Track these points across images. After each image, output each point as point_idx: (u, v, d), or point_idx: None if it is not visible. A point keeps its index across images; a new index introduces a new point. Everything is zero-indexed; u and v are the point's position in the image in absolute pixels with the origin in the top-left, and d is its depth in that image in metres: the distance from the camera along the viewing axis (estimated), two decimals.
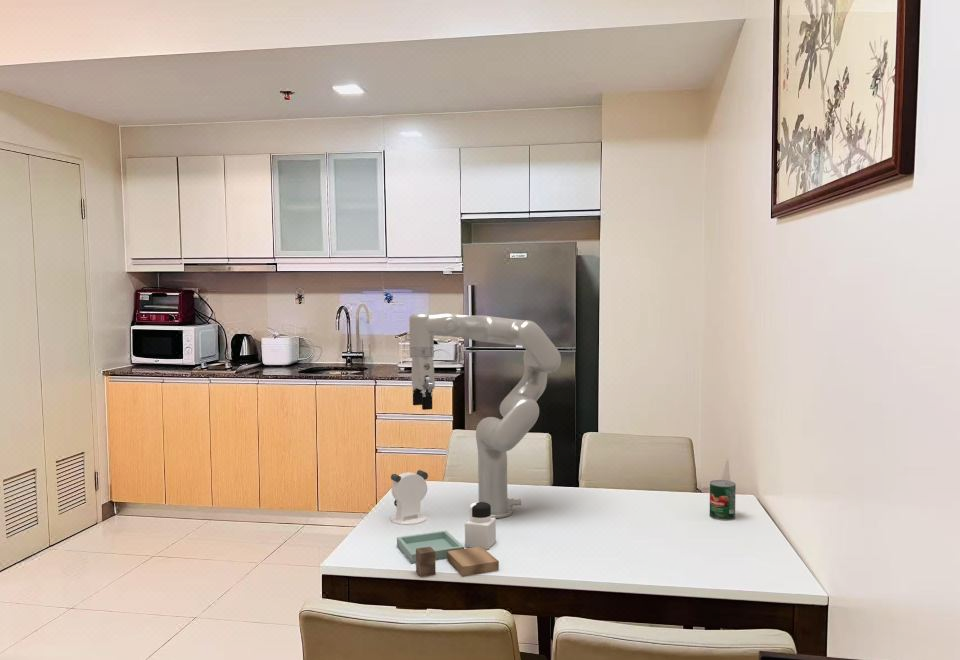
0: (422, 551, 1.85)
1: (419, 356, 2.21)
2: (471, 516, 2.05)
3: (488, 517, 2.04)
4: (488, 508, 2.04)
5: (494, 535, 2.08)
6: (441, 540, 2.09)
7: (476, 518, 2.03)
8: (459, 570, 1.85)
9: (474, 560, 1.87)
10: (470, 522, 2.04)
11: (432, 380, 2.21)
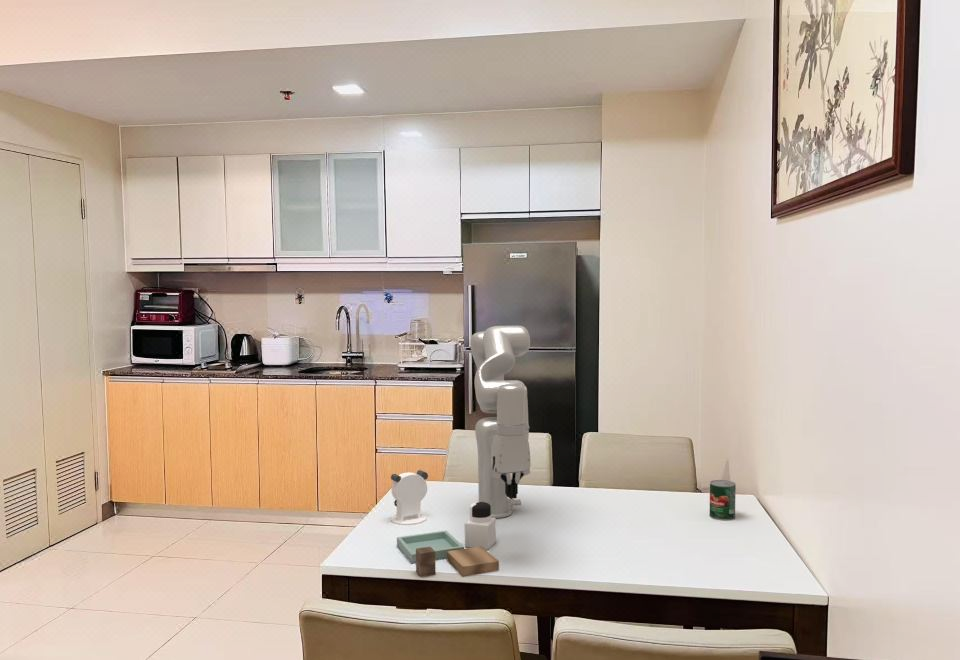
0: (422, 551, 1.85)
1: (524, 433, 1.93)
2: (471, 516, 2.05)
3: (488, 517, 2.04)
4: (488, 508, 2.04)
5: (494, 535, 2.08)
6: (441, 540, 2.09)
7: (476, 518, 2.03)
8: (459, 570, 1.85)
9: (474, 560, 1.87)
10: (470, 522, 2.04)
11: None
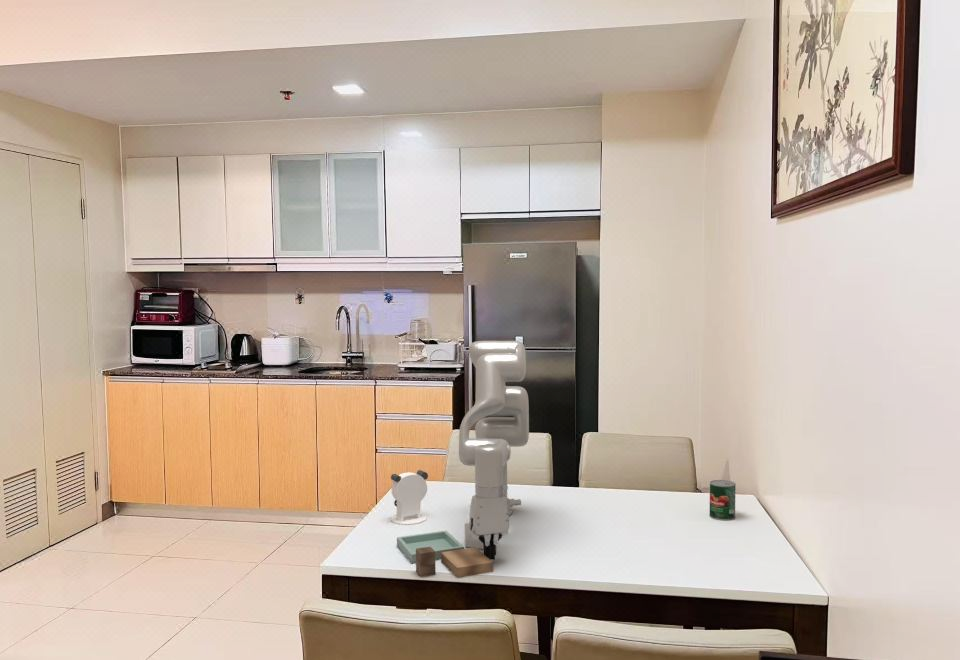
0: (422, 551, 1.85)
1: (503, 494, 1.91)
2: None
3: None
4: None
5: None
6: (441, 540, 2.09)
7: None
8: (453, 571, 1.85)
9: (468, 561, 1.87)
10: None
11: None
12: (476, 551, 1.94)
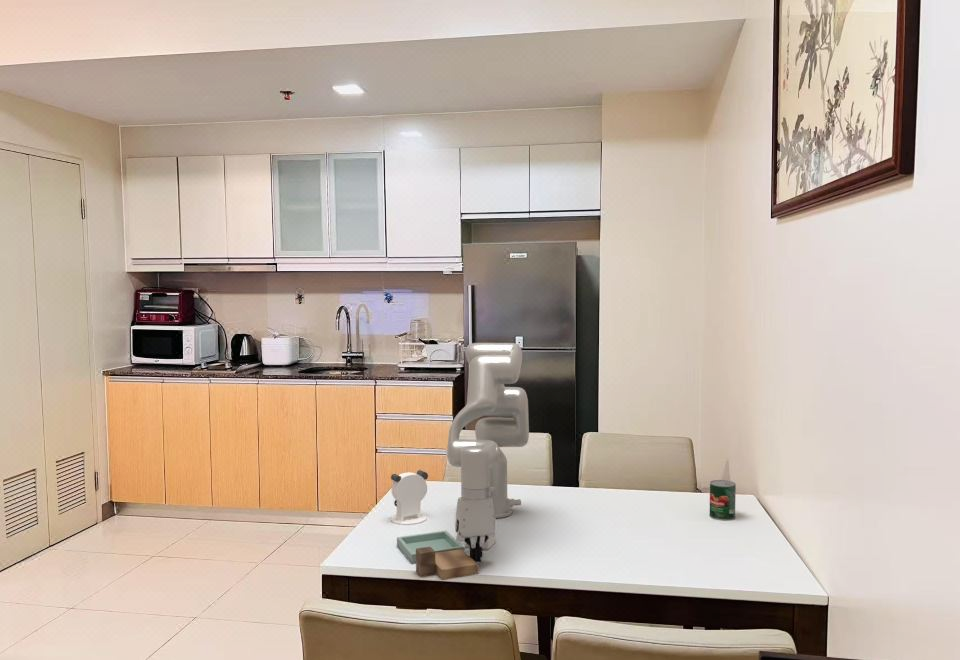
0: (422, 551, 1.85)
1: (489, 496, 1.90)
2: None
3: None
4: None
5: None
6: (441, 540, 2.09)
7: None
8: (438, 573, 1.84)
9: (453, 563, 1.85)
10: None
11: None
12: (462, 553, 1.93)
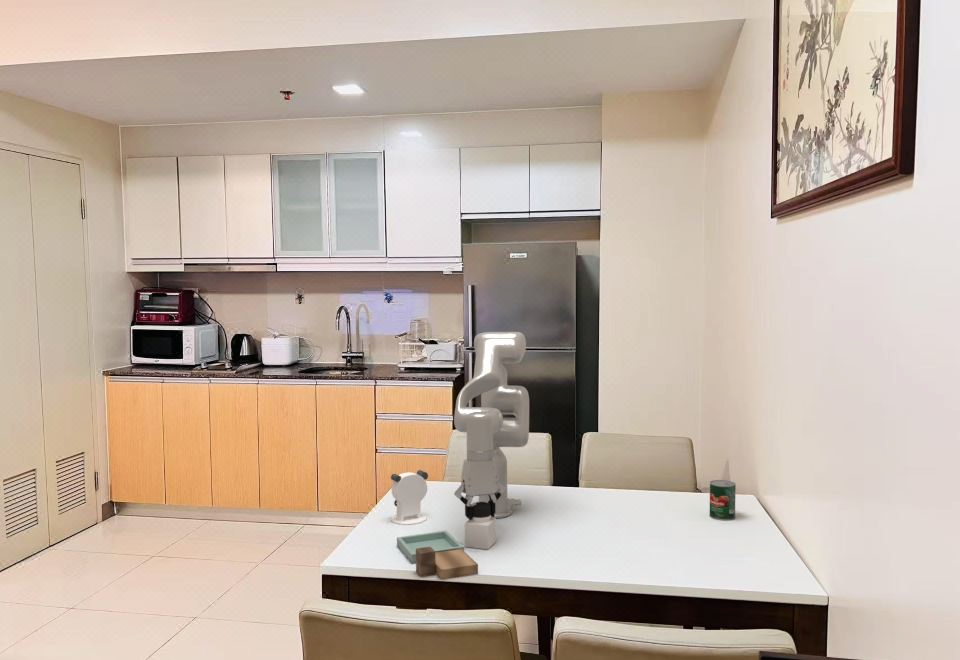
0: (422, 551, 1.85)
1: (492, 458, 2.05)
2: None
3: (488, 517, 2.04)
4: (488, 508, 2.04)
5: (494, 535, 2.08)
6: (441, 540, 2.09)
7: (476, 518, 2.03)
8: (438, 573, 1.84)
9: (453, 563, 1.85)
10: (470, 522, 2.04)
11: None
12: (462, 553, 1.93)
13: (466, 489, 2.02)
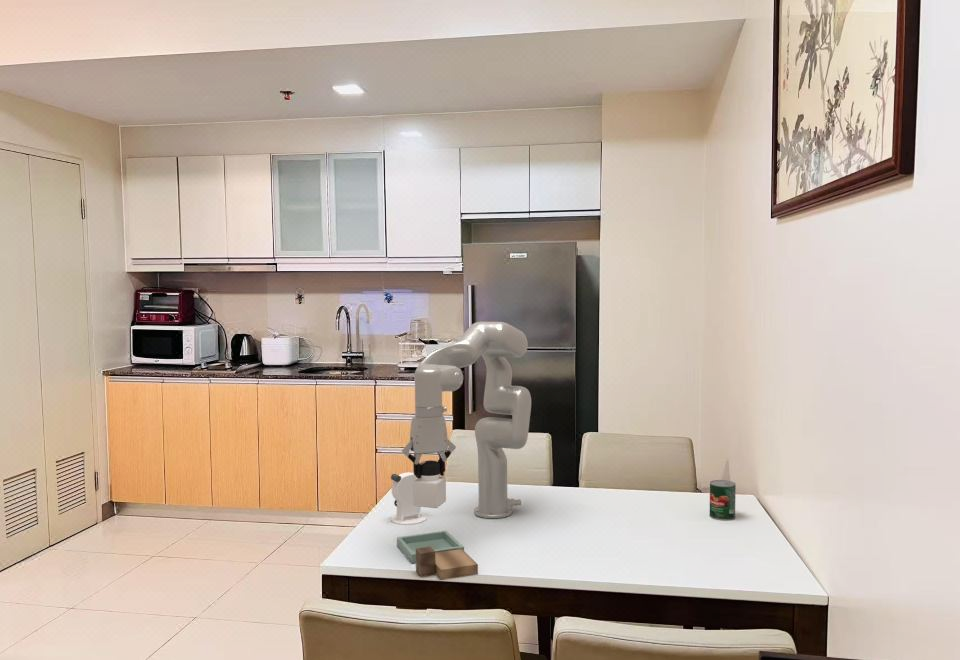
0: (422, 551, 1.85)
1: (441, 415, 2.00)
2: None
3: (437, 475, 1.99)
4: (437, 466, 1.99)
5: (444, 494, 2.02)
6: (441, 540, 2.09)
7: (425, 476, 1.98)
8: (437, 573, 1.84)
9: (453, 563, 1.85)
10: (418, 480, 1.99)
11: None
12: (462, 553, 1.93)
13: (414, 446, 1.97)
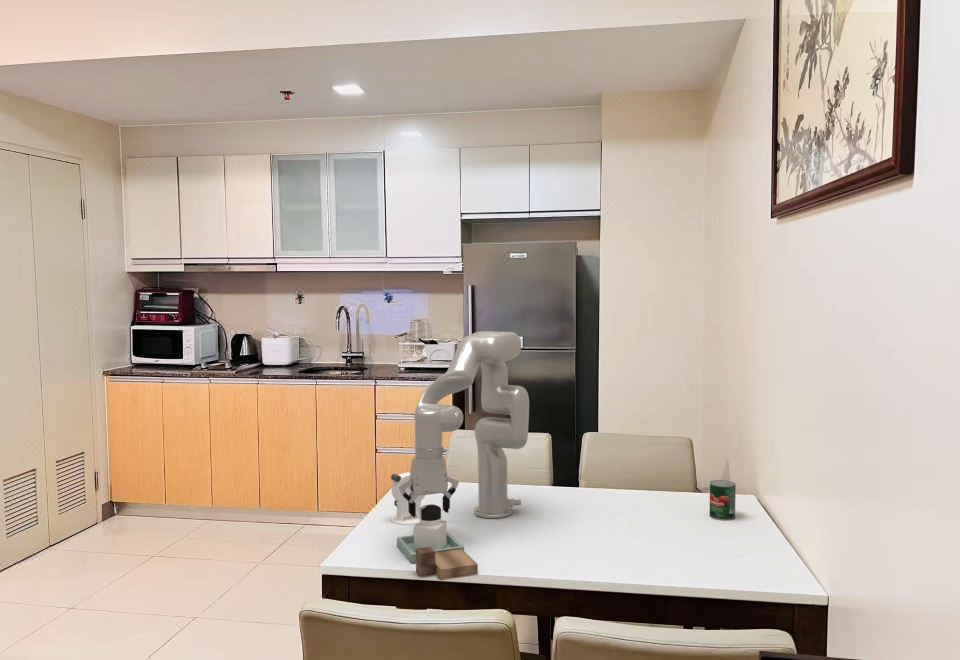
0: (422, 551, 1.85)
1: (441, 456, 2.00)
2: (420, 519, 2.00)
3: (438, 520, 2.00)
4: (437, 511, 2.00)
5: (445, 538, 2.03)
6: None
7: (425, 521, 1.99)
8: (437, 573, 1.84)
9: (453, 563, 1.85)
10: (419, 525, 2.00)
11: None
12: (462, 553, 1.93)
13: (414, 488, 1.98)
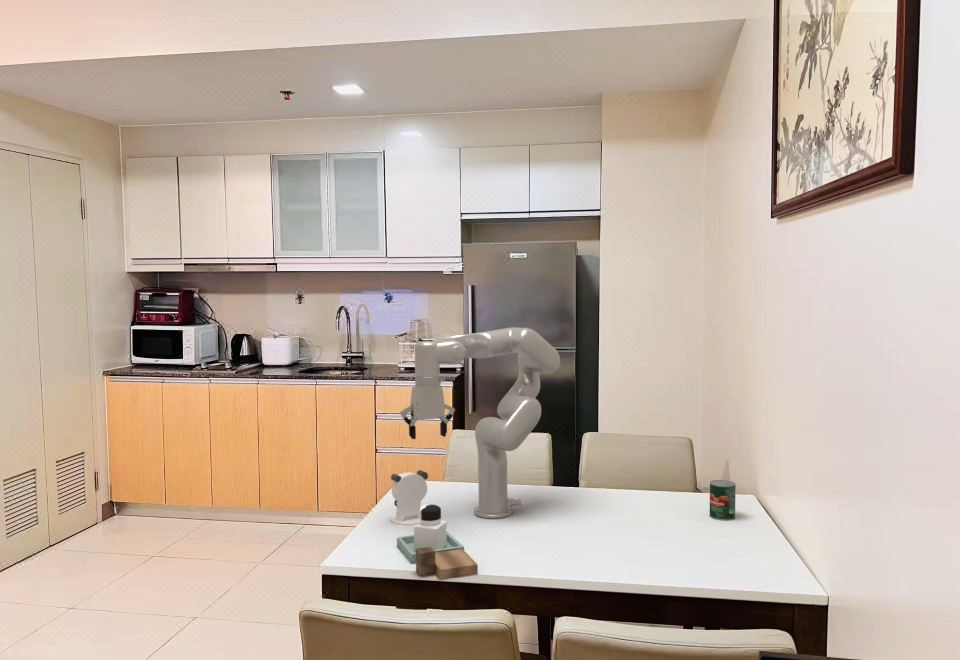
0: (422, 551, 1.85)
1: (439, 384, 2.19)
2: (420, 519, 2.00)
3: (437, 520, 2.00)
4: (437, 511, 2.00)
5: (445, 538, 2.03)
6: None
7: (425, 521, 1.99)
8: (437, 573, 1.84)
9: (452, 563, 1.85)
10: (419, 525, 2.00)
11: None
12: (462, 553, 1.93)
13: (414, 412, 2.17)
